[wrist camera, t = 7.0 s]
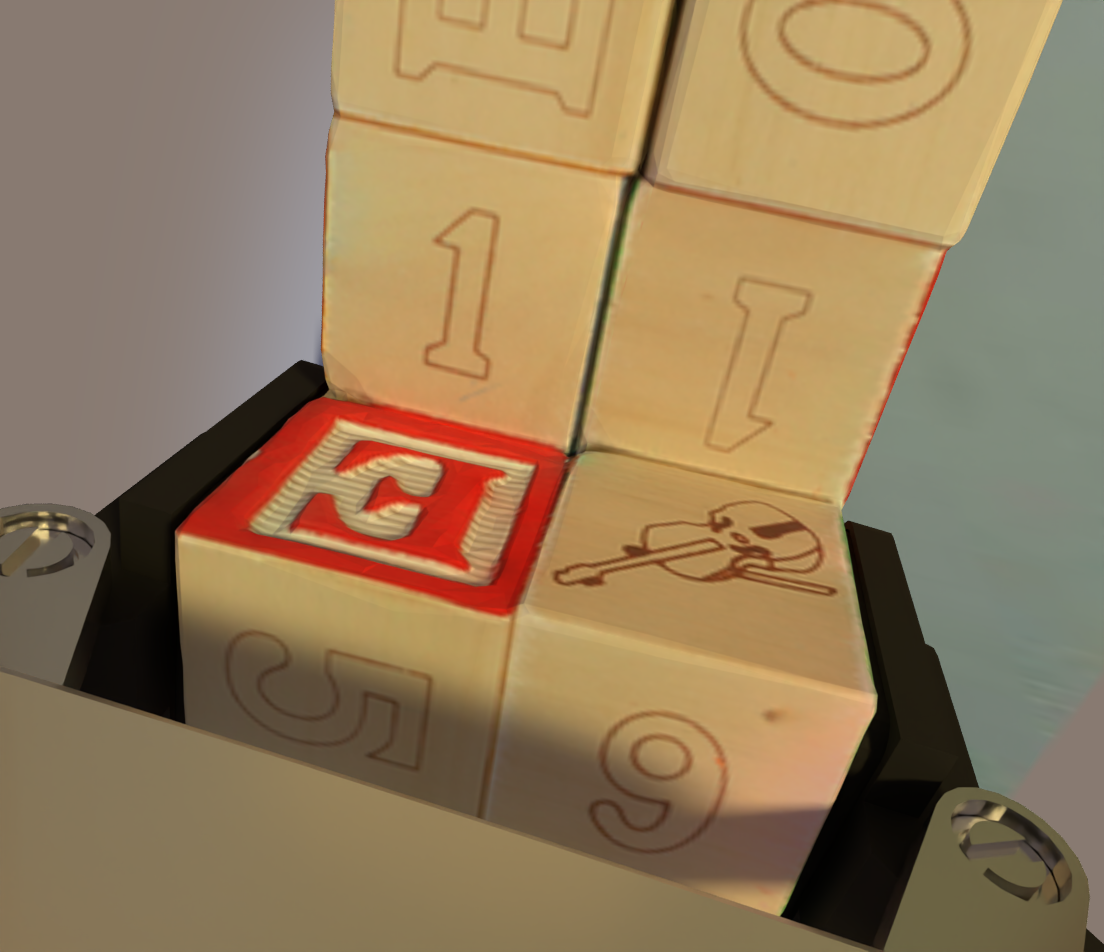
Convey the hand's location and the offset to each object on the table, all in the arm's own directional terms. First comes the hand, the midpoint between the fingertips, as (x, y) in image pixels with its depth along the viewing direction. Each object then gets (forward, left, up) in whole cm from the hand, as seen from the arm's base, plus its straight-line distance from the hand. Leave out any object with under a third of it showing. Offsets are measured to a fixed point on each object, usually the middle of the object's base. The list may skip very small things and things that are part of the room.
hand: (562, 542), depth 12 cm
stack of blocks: (0, 0, -8) cm, 8 cm away
